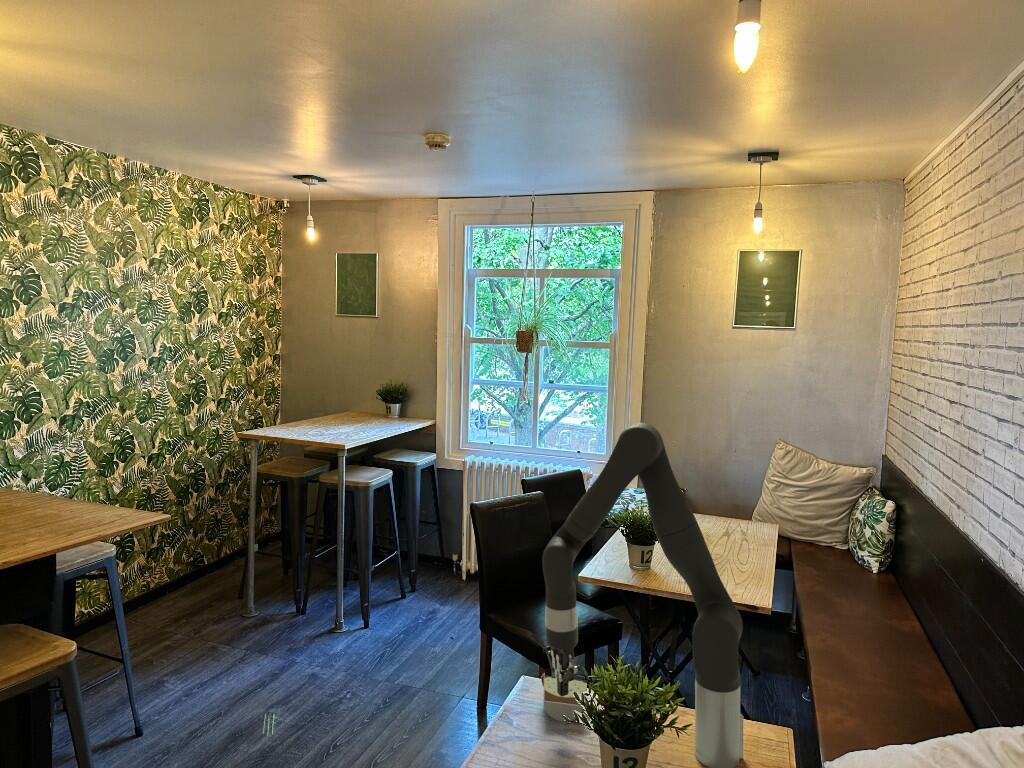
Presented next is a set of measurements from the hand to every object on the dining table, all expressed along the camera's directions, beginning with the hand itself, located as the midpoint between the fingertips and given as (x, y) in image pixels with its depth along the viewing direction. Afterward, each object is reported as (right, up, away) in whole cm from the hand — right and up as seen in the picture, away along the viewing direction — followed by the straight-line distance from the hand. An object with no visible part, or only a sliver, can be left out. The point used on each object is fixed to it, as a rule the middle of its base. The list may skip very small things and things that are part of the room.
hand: (562, 693), depth 153 cm
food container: (0, -6, +2) cm, 6 cm away
